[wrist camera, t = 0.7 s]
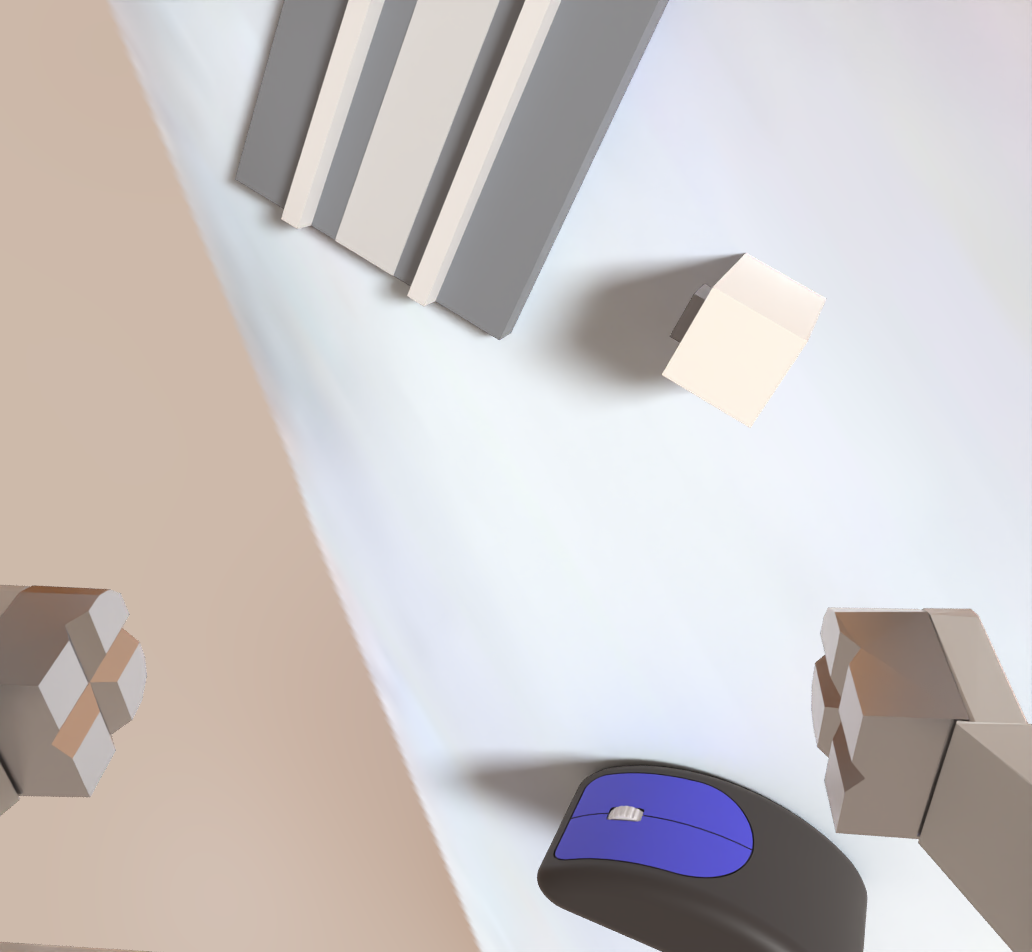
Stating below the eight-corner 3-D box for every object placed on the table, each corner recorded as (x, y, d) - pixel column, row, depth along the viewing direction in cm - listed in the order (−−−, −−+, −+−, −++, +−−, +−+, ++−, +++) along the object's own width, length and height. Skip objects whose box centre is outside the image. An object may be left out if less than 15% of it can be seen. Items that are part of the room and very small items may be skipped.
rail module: (734, 245, 42) (698, 278, 36) (826, 298, 42) (807, 341, 35) (689, 322, 44) (648, 366, 38) (776, 374, 44) (750, 428, 37)
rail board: (364, -215, 41) (330, -232, 38) (689, -44, 39) (674, -51, 36) (252, 176, 50) (220, 181, 48) (511, 332, 48) (489, 346, 45)
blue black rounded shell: (888, 833, 50) (880, 980, 42) (862, 894, 52) (850, 1045, 44) (596, 724, 55) (539, 838, 47) (583, 784, 57) (525, 903, 49)
